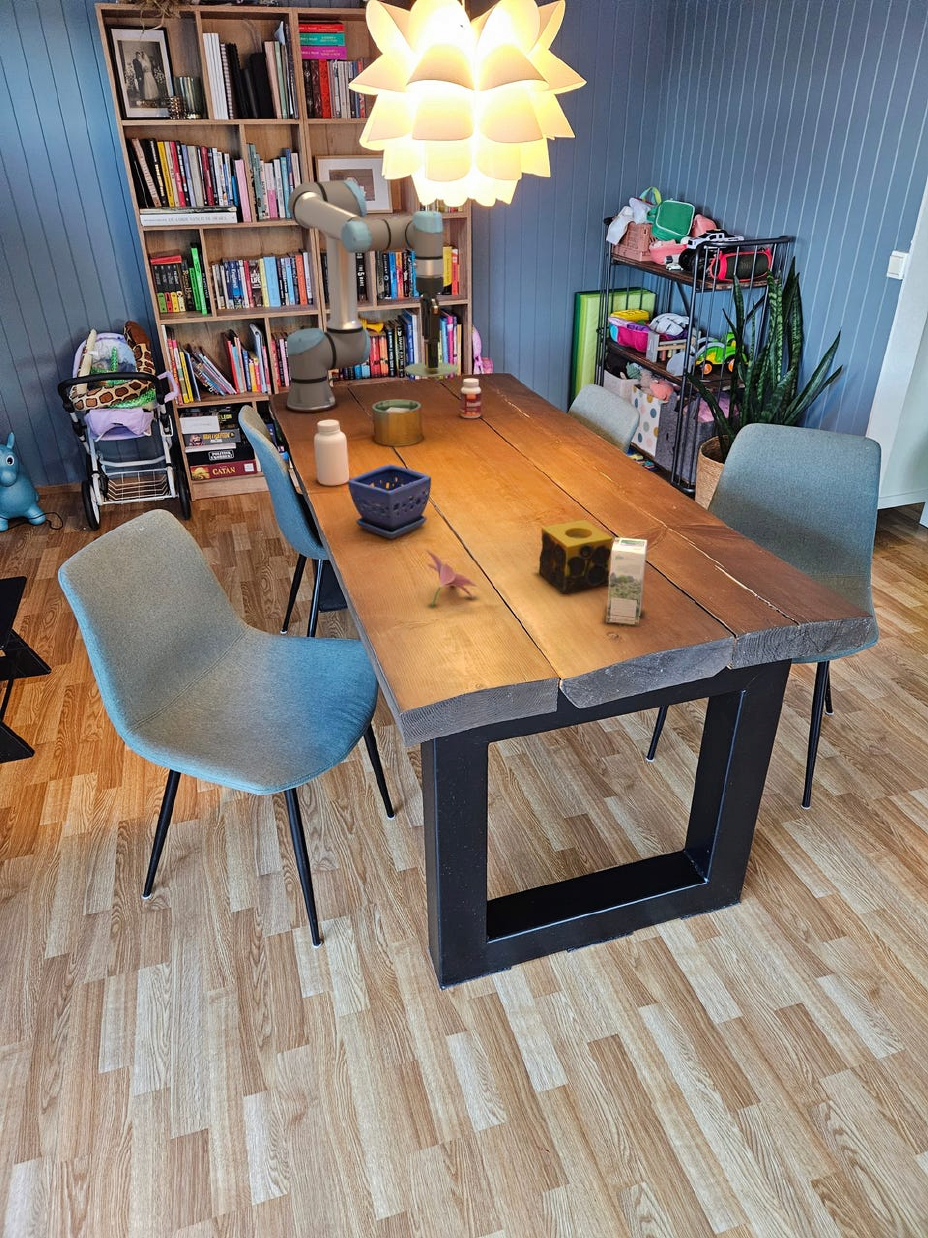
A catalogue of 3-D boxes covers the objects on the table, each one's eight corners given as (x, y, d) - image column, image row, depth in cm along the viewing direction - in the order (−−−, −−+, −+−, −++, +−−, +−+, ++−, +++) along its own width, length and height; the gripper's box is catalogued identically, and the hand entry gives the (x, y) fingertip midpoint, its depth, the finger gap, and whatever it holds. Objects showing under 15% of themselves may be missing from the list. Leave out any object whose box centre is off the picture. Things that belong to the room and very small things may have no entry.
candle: (537, 573, 173) (539, 526, 168) (582, 564, 177) (584, 518, 172) (563, 595, 165) (565, 546, 160) (609, 585, 168) (613, 537, 164)
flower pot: (392, 545, 186) (389, 492, 180) (349, 530, 193) (345, 478, 188) (434, 526, 195) (433, 475, 189) (392, 512, 202) (389, 462, 196)
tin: (370, 434, 256) (368, 401, 251) (416, 429, 259) (415, 397, 254) (378, 448, 244) (376, 414, 239) (427, 443, 247) (425, 410, 243)
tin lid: (400, 368, 248) (398, 336, 244) (450, 364, 251) (450, 333, 247) (411, 380, 236) (410, 347, 231) (464, 376, 239) (464, 343, 235)
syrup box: (641, 611, 159) (648, 538, 152) (638, 627, 154) (645, 551, 147) (609, 608, 160) (614, 535, 153) (605, 623, 155) (611, 548, 148)
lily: (477, 620, 159) (493, 569, 158) (417, 603, 155) (432, 551, 154) (458, 610, 170) (472, 562, 170) (401, 594, 166) (416, 545, 166)
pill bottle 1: (315, 486, 218) (309, 427, 211) (320, 475, 225) (315, 417, 218) (347, 486, 218) (342, 426, 210) (351, 475, 225) (347, 417, 217)
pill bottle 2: (466, 419, 267) (466, 383, 262) (457, 415, 272) (456, 379, 266) (484, 417, 269) (484, 380, 264) (475, 412, 274) (474, 376, 269)
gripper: (408, 272, 237) (411, 360, 249) (422, 280, 224) (425, 373, 235) (435, 270, 239) (437, 358, 250) (450, 279, 225) (452, 371, 237)
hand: (431, 365), depth 243 cm, fingers closed on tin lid, 3 cm apart
